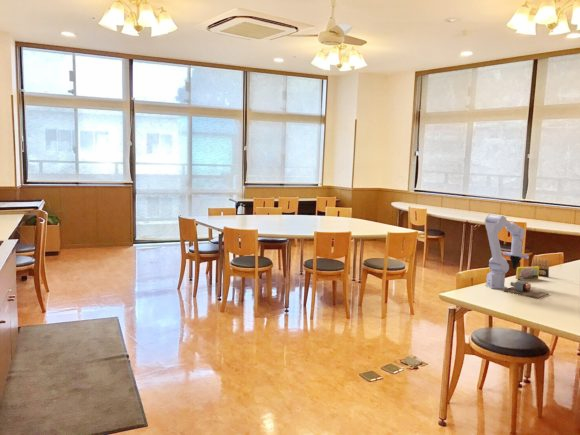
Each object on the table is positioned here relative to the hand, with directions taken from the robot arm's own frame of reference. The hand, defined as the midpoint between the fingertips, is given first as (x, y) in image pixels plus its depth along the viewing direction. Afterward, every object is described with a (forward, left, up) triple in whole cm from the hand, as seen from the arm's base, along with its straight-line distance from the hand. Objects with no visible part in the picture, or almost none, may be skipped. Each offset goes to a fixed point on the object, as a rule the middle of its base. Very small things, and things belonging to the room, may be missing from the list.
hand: (514, 268), depth 290 cm
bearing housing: (-7, -19, -9) cm, 23 cm away
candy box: (+15, +10, -10) cm, 20 cm away
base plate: (-6, -22, -9) cm, 24 cm away
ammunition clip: (+30, +20, -10) cm, 37 cm away
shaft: (-8, -19, -8) cm, 22 cm away
